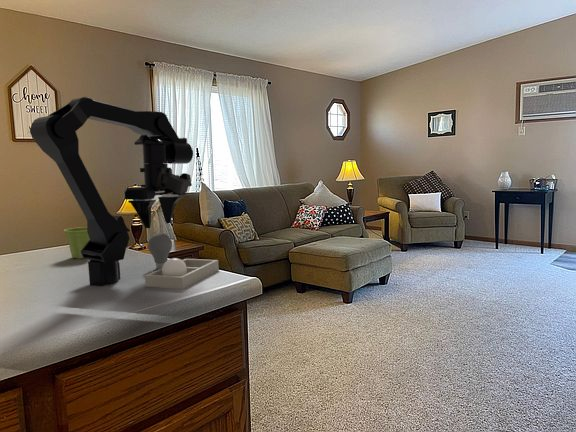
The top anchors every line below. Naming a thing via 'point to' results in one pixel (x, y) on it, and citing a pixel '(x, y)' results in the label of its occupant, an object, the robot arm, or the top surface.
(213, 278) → the top surface
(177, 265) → the ceramic egg
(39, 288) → the top surface
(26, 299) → the top surface
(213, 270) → the tray
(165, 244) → the light bulb
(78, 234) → the plant pot
